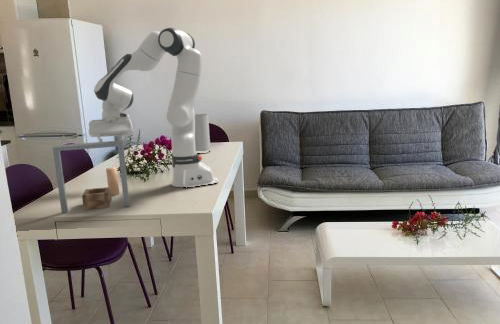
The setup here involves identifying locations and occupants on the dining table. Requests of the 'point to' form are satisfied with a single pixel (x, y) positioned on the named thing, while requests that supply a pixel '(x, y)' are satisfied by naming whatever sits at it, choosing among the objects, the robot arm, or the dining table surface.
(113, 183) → the terracotta peg
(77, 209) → the dining table surface
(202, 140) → the cylinder vase
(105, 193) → the walnut socket
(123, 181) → the grey arch frame
